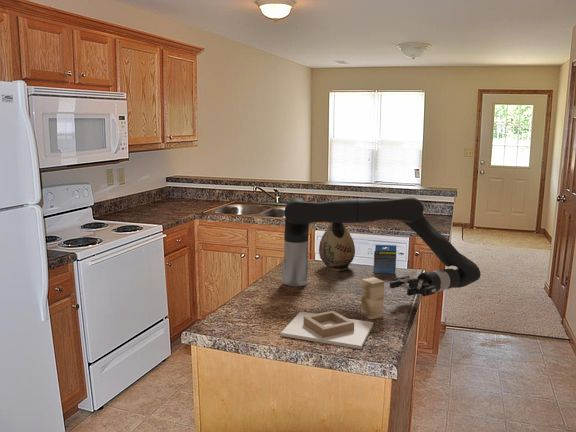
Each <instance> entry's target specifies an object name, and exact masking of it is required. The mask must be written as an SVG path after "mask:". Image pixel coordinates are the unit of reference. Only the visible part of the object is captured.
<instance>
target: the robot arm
mask: <svg viewBox="0 0 576 432" xmlns="http://www.w3.org/2000/svg"><path fill="white" fill-rule="evenodd" d="M424 211H425V209H424V205H423V203H422V202H421V201H420V200H419V199H418V198H416V197H412V196H409V197H402V198H401V197H400V198H394V199H393V198H392V199H378V198H377V199H375V198H339V199H335V200H334V199H333V200H330V201H325V202H323V201H322V202H311V201H306V200H305V199H303V198H301V197H294V198H291V199H290V200H289V201H287V202H286V204H285V207H284V210H283V215H284V223H285V224H284V232H283V233H284V236H283V237H284V238H283V239H284V243H283V244H284V245H283V247H284V248H283V249H284V250H283V256H284V258H283V259H282V260H281V284H282V285H283V284H284V285H286V286H287V287H288V286H289V287H302V286H303V287H304V286H306V285H307V284H308V280H309V279H308V275H309V274H308V270H309V269H308V268H309V266H308V265H309V264H308V263H309V231H310V229H309V228H310V224H312V223H313V224H314V223H331V222H332V223H343V224H362V223H370V222H376V221H383V220H386V221H387V220H388V221H389V220H391V221H402V223H404V224H405V225H407V226H408V227H409V228H410V229H411V230H412V231H413V232H415V233H416V235H418V237H420V239H421V240H422V241H423V242H424V243H425V245H427V246H428V248H429V250H431V251H432V252H433V254H434V255H435V256H436V257H437V258H438V259H439V260H440V262H441V263H442V264H443V265H444V267H456V269H454V268H445V269H436V270H431V271H426V272H421V273H419V274H418V276H417V277H413V278H411V277H410V276H409V275H404V276H399V277H398V276H397V277H395V278H394V279H395V280H393V281H390V283H389V288H390V289H395V288H404V289H407V291H406V295H407V296H409V297H411V296H415V295H417V296H422V297H427V296H431V295H434V294H435V295H436V293H439V292H443V291H446V290H449V289H452V288H453V289H457V288H458V289H460V288H464V287H467V286H469V285H471V284H472V283H475V282H477V281H478V280H479V279H480V278H481V270H480V268H479V266H478V265H477V264H476V263H475V262H474V261H472V260H471V259H469V258H468V257H467V256H465V255H464V254H462V253H461V252H459V250H457V248H455V246H454V245H453V244H452V242H450V241H449V239H447V237H445V235H443V234H442V233H440V232H439V231H438V229H436V228H435V227H434V225H432V224H431V223H430V222H429V221H428V219H427V218H426V217H425V215H424Z"/></svg>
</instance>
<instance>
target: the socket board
mask: <svg viewBox="0 0 576 432" xmlns="http://www.w3.org/2000/svg"><path fill="white" fill-rule="evenodd" d="M373 326H374V322H373V321H368V320H367V321H366V320H360V319H353V318H348V317H345V316H344V315H342V314H340V313H339V312H337V311H335V310H329V311H328V310H327V311H324V312H320V313H312V312H305V311H299V313H297V314H296V316H295V317H294V318H292V320H291V321H290V322H289V323H288V324H287V325H286V326H285V327H284V329H283V330H282V331H281V332H280V336H281V337H285V338H286V337H287V338H291V339H292V338H293V339H299V340H304V341H311V342H314V343H315V342H316V343H323V344H329V345H334V346H340V347H345V348H351V349H359V350H362V348H363V347H364V344H365V342H366V341H367V338H369V334H370V332H371V331H372V329H373Z"/></svg>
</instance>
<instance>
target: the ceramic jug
mask: <svg viewBox="0 0 576 432" xmlns="http://www.w3.org/2000/svg"><path fill="white" fill-rule="evenodd" d="M318 254H319V258H320V259H321V261H322V262H323V263H324V265H325V266H326V269H327V270H330V271H334V272H340V271H346V270H348V269H349V266H350V264H352V262H353V260H354V258H355V255H356V248H355V242H354V240H353V237H352V235H351V233H350V232H349V230H348V229H347V228H346V225H345V223H332V222H330V224H329V225H328V226H327V228H326V230H325V231H324V233H323V234H322V237H321V238H320V242H319V246H318Z"/></svg>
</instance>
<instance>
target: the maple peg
mask: <svg viewBox="0 0 576 432" xmlns="http://www.w3.org/2000/svg"><path fill="white" fill-rule="evenodd" d="M384 292H385V281H384V280H382V279H379V278H377V277H374V276H373V277H369V278H368V277H367V278H363V279H362V280H361V298H360V299H361V301H360V315H361V316H363V317H365V318H367V319H369V320H374V319H378V318H382V317H384V316H383V314H384V311H383V310H384Z"/></svg>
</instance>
